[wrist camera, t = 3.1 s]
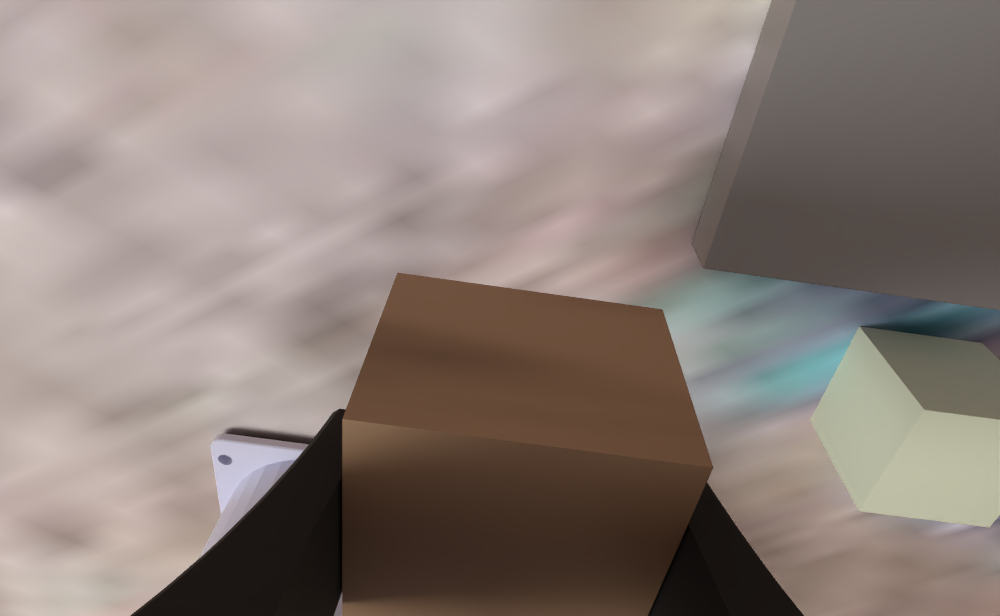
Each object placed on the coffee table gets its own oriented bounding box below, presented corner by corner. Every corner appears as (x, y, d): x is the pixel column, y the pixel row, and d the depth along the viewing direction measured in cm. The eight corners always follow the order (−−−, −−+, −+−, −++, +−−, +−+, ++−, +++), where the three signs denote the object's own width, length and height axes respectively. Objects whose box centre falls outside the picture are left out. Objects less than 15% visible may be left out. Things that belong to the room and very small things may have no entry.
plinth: (987, 285, 19) (1019, 312, 18) (691, 243, 19) (703, 268, 17) (1205, -59, 14) (1270, -55, 13) (812, -123, 14) (840, -126, 13)
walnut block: (604, 491, 15) (625, 666, 11) (387, 463, 14) (341, 632, 11) (662, 309, 12) (713, 467, 9) (397, 272, 12) (342, 419, 8)
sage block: (920, 433, 22) (989, 527, 19) (809, 419, 22) (858, 510, 19) (980, 341, 20) (1070, 428, 17) (858, 325, 20) (924, 410, 17)
